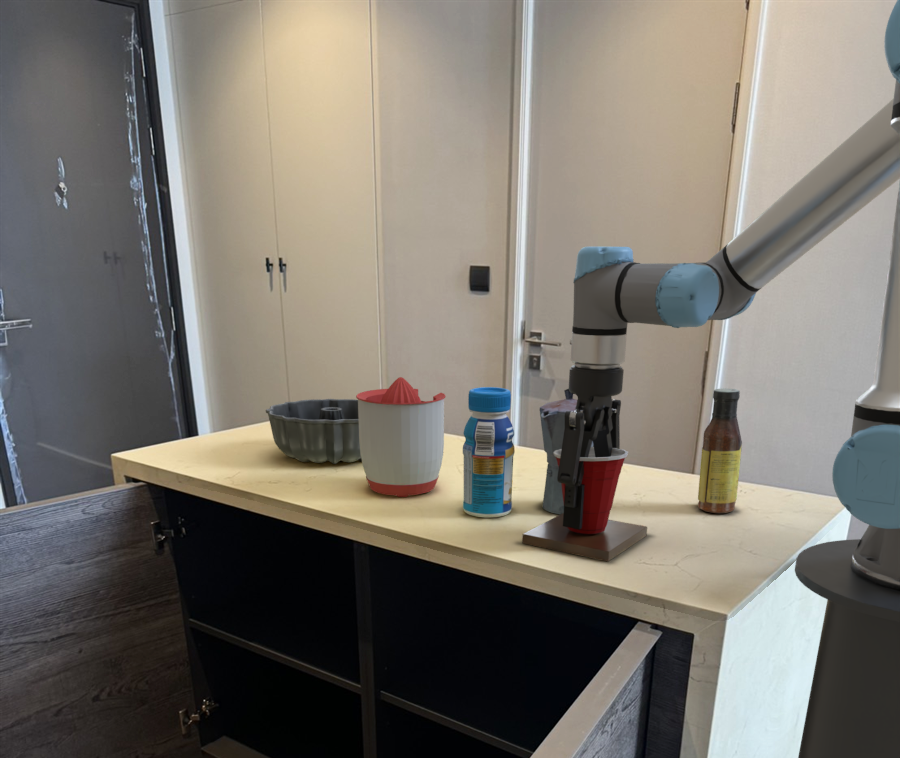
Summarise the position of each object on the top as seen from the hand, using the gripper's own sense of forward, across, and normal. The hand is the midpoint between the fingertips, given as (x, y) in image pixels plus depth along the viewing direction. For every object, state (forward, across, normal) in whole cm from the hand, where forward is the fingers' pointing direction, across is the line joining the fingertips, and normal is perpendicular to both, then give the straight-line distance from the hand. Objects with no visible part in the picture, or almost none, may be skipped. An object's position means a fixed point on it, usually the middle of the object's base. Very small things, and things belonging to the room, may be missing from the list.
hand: (586, 519), depth 130 cm
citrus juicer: (+3, -8, -40) cm, 41 cm away
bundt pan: (+4, -20, -68) cm, 71 cm away
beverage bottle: (+3, -4, -20) cm, 21 cm away
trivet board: (+3, 0, 0) cm, 3 cm away
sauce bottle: (+3, -27, +11) cm, 29 cm away
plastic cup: (+2, 0, 0) cm, 2 cm away
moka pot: (+3, -14, -10) cm, 18 cm away
